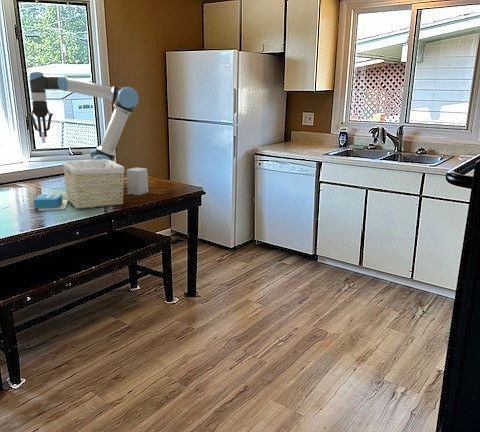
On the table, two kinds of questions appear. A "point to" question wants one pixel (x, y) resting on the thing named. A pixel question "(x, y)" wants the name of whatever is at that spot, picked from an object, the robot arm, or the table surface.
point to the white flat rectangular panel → (61, 207)
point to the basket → (93, 183)
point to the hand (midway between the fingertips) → (44, 142)
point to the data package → (48, 201)
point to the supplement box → (137, 181)
